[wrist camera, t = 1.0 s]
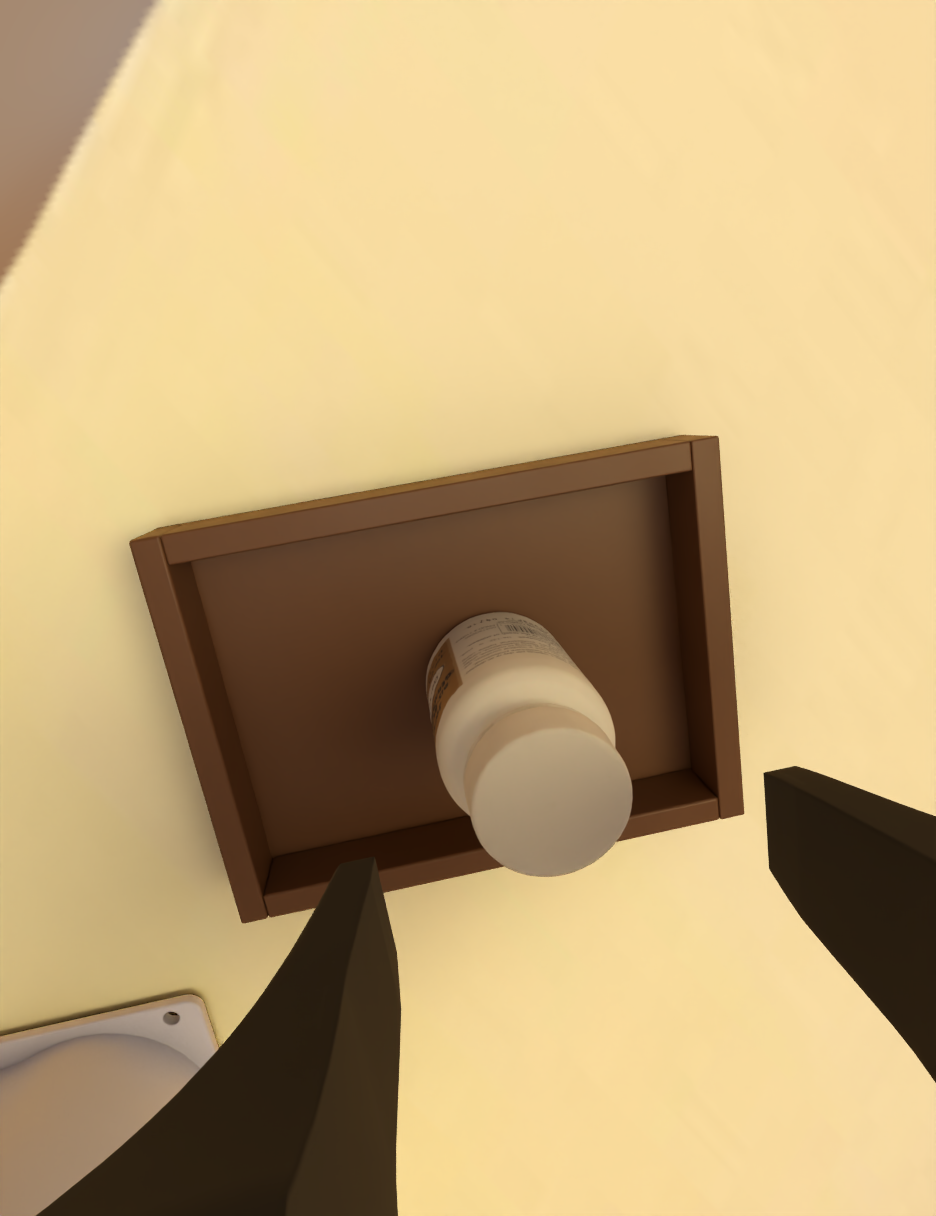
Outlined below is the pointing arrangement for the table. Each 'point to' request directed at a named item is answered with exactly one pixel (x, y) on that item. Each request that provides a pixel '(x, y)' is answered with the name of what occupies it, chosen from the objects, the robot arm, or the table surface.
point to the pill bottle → (526, 746)
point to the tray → (407, 637)
